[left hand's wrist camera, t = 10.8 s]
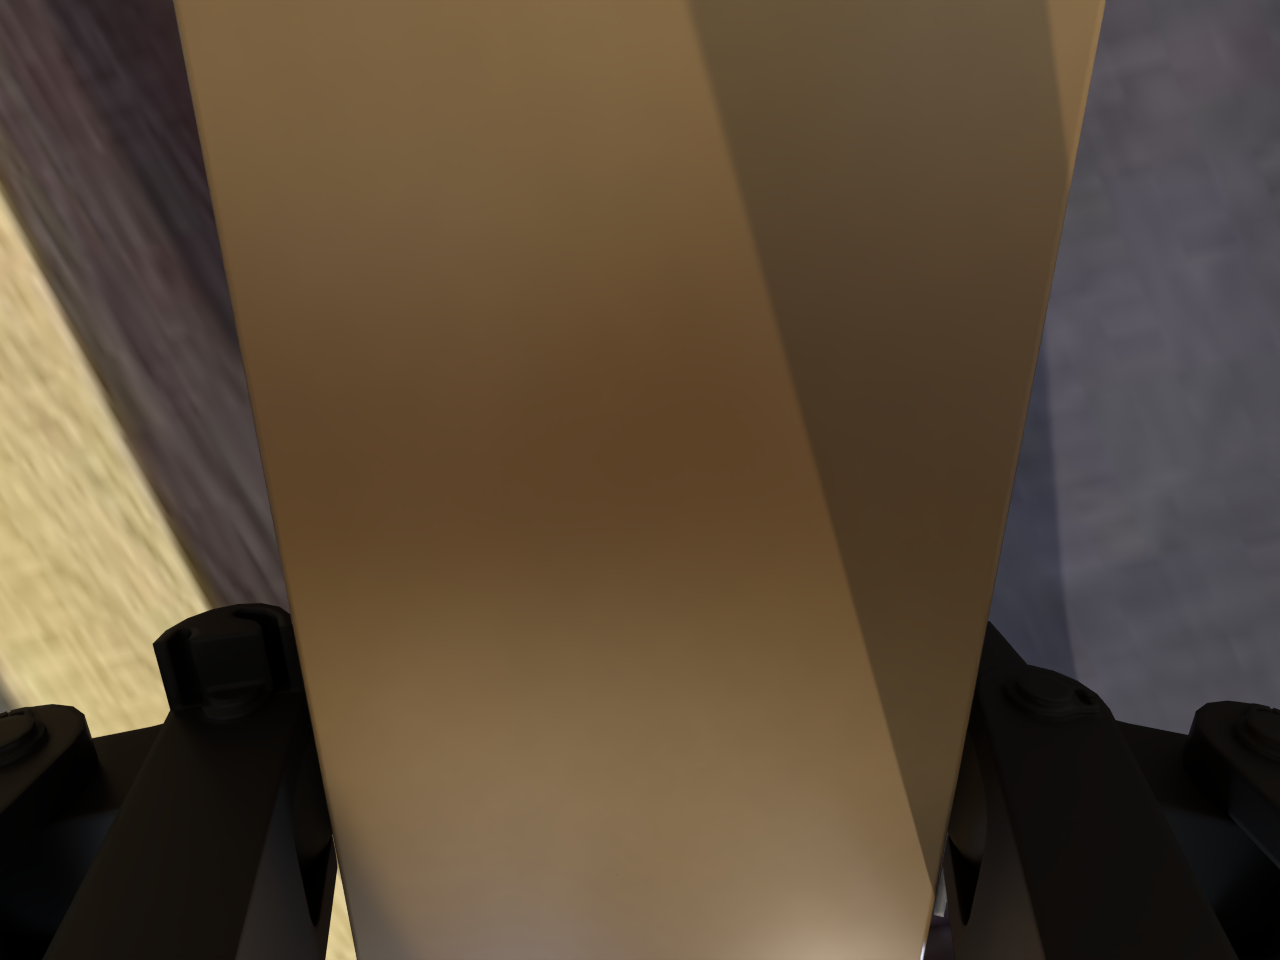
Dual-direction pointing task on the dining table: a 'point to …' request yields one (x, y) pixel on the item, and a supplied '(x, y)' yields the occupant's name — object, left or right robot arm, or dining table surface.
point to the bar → (639, 440)
